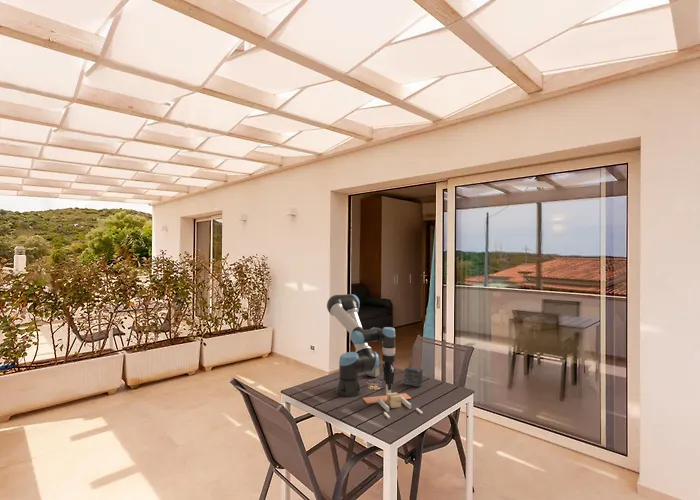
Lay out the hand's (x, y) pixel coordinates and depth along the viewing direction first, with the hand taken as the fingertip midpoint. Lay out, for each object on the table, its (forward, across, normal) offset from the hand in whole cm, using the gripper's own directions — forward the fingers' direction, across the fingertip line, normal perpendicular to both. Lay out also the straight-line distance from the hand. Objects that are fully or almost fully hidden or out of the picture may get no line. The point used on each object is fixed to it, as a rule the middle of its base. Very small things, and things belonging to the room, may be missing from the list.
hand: (388, 394), depth 213 cm
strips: (+3, +20, 0) cm, 20 cm away
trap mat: (+3, -2, 0) cm, 4 cm away
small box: (+3, -19, +26) cm, 32 cm away
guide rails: (+3, +8, 0) cm, 9 cm away
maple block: (+3, +8, 0) cm, 9 cm away
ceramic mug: (+3, -44, +7) cm, 44 cm away
